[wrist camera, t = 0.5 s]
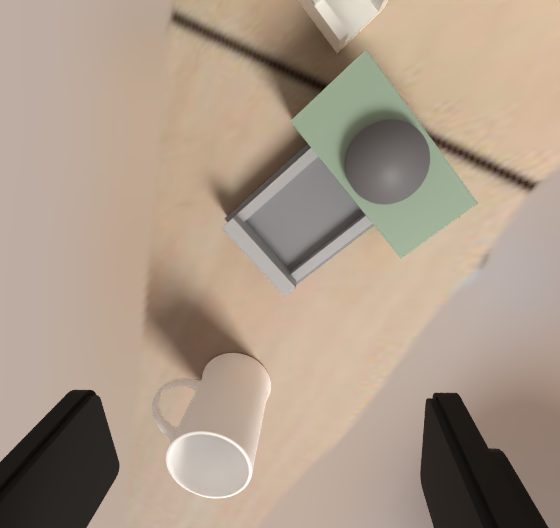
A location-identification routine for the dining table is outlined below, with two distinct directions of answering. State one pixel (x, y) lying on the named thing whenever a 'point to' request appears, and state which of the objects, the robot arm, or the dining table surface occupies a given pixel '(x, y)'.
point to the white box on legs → (341, 17)
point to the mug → (217, 426)
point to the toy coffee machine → (349, 181)
